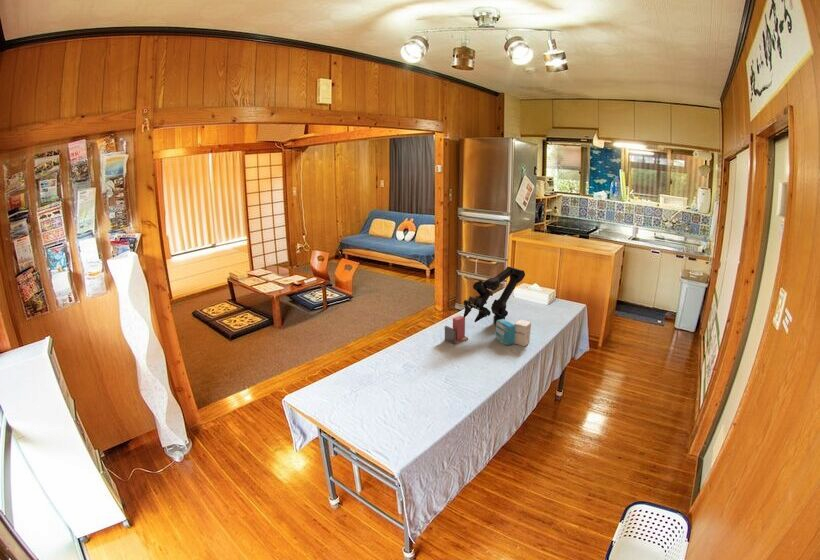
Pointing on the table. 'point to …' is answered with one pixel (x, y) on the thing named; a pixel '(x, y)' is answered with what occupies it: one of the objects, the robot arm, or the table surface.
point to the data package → (505, 331)
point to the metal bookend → (450, 335)
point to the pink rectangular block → (459, 326)
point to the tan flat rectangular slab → (461, 340)
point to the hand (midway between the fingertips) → (469, 319)
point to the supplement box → (522, 332)
